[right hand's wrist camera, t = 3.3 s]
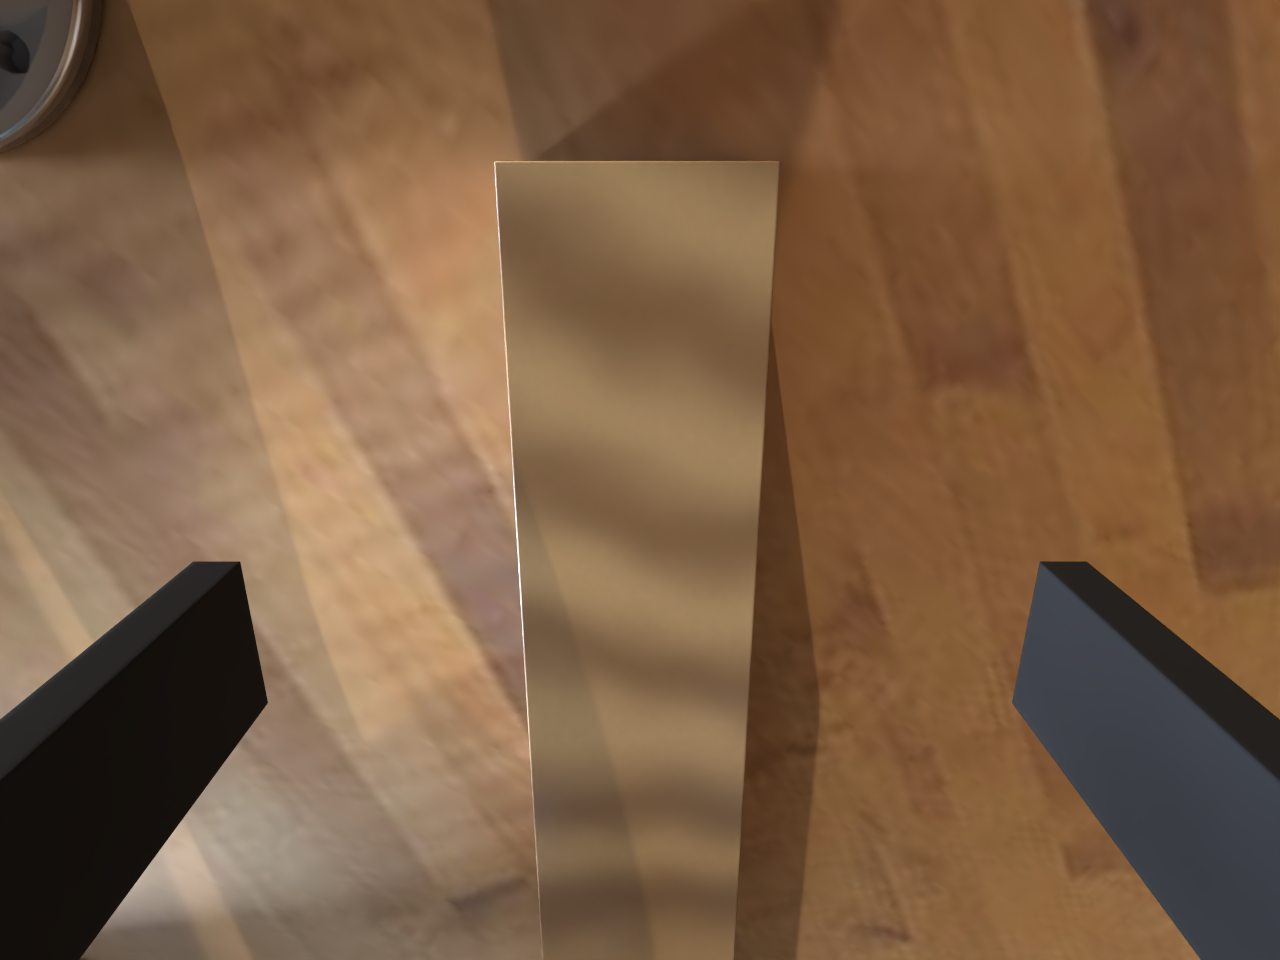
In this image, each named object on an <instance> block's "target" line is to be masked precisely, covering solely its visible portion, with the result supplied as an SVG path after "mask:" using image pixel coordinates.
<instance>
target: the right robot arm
mask: <svg viewBox="0 0 1280 960" xmlns="http://www.w3.org/2000/svg"><path fill="white" fill-rule="evenodd" d="M101 12H102V0H0V153H1V152H4V151H7V150H10V149H12V148H14V147H16V146H19V145H21V144H23V143H25V142H27V141H28V140H30V139H32V138H33V137H35V136H37V135H38V134H39V133H41V132H42V131H43V130H44V129H46V128H47V127H48V126H49V125H51V124H52V123H53V122H54V121H55V120H56V119H57V118H58V117H59V116H60V115H61V114H62V113H63V112H64V110H65V109H66V108H67V106H68V105H69V104H70V102H71V101H72V100H73V98H74V97H75V95H76V93H77V92H78V90H79V88H80V86H81V85H82V83H83V81H84V79H85V76H86V74H87V72H88V69H89V67H90V65H91V62H92V58H93V55H94V52H95V49H96V45H97V40H98V35H99V30H100V23H101ZM267 703H268V701H267V696H266V691H265V686H264V681H263V676H262V671H261V665H260V660H259V655H258V650H257V645H256V640H255V635H254V630H253V625H252V620H251V615H250V610H249V605H248V599H247V594H246V589H245V584H244V579H243V574H242V569H241V564H240V562H192V563H191V564H190V565H189V566H188V567H186V568H185V569H184V570H183V571H181V572H180V573H179V574H178V575H177V576H175V577H174V578H173V579H172V580H170V581H169V582H168V583H167V584H166V585H164V586H163V587H162V588H161V589H159V590H158V591H157V592H156V593H155V594H153V595H152V596H151V597H150V598H148V599H147V600H146V601H145V602H144V603H142V604H141V605H140V606H139V607H137V608H136V609H135V610H134V611H133V612H131V613H130V614H129V615H128V616H126V617H125V618H124V619H123V620H121V621H120V622H119V623H118V624H117V625H115V626H114V627H113V628H112V629H110V630H109V631H108V632H107V633H106V634H104V635H103V636H102V637H101V638H99V639H98V640H97V641H96V642H95V643H93V644H92V645H91V646H90V647H88V648H87V649H86V650H85V651H84V652H82V653H81V654H80V655H79V656H77V657H76V658H75V659H74V660H73V661H71V662H70V663H69V664H68V665H66V666H65V667H64V668H63V669H62V670H60V671H59V672H58V673H57V674H55V675H54V676H53V677H52V678H51V679H49V680H48V681H47V682H46V683H44V684H43V685H42V686H41V687H40V688H38V689H37V690H36V691H35V692H33V693H32V694H31V695H30V696H29V697H27V698H26V699H25V700H24V701H22V702H21V703H20V704H19V705H18V706H16V707H15V708H14V709H13V710H11V711H10V712H9V713H8V714H7V715H5V716H4V717H3V718H2V719H0V960H79V959H80V958H81V956H82V955H83V954H84V952H85V951H86V950H87V948H88V947H89V945H90V944H91V943H92V941H93V940H94V939H95V937H96V936H97V935H98V933H99V932H100V931H101V929H102V928H103V926H104V925H105V924H106V922H107V921H108V920H109V918H110V917H111V916H112V914H113V913H114V911H115V910H116V909H117V907H118V906H119V905H120V903H121V902H122V901H123V899H124V898H125V897H126V895H127V894H128V892H129V891H130V890H131V888H132V887H133V886H134V884H135V883H136V882H137V880H138V879H139V877H140V876H141V875H142V873H143V872H144V871H145V869H146V868H147V867H148V865H149V864H150V862H151V861H152V860H153V858H154V857H155V856H156V854H157V853H158V852H159V850H160V849H161V848H162V846H163V845H164V843H165V842H166V841H167V839H168V838H169V837H170V835H171V834H172V833H173V831H174V830H175V828H176V827H177V826H178V824H179V823H180V822H181V820H182V819H183V818H184V816H185V815H186V814H187V812H188V811H189V809H190V808H191V807H192V805H193V804H194V803H195V801H196V800H197V799H198V797H199V796H200V794H201V793H202V792H203V790H204V789H205V788H206V786H207V785H208V784H209V782H210V781H211V780H212V778H213V777H214V775H215V774H216V773H217V771H218V770H219V769H220V767H221V766H222V765H223V763H224V762H225V760H226V759H227V758H228V756H229V755H230V754H231V752H232V751H233V750H234V748H235V747H236V745H237V744H238V743H239V741H240V740H241V739H242V737H243V736H244V735H245V733H246V732H247V731H248V729H249V728H250V726H251V725H252V724H253V722H254V721H255V720H256V718H257V717H258V716H259V714H260V713H261V711H262V710H263V709H264V707H265V706H266V705H267ZM1012 703H1013V705H1014V706H1015V707H1016V709H1017V710H1018V711H1019V713H1020V714H1021V716H1022V717H1023V718H1024V720H1025V721H1026V722H1027V724H1028V725H1029V726H1030V728H1031V729H1032V731H1033V732H1034V733H1035V735H1036V736H1037V737H1038V739H1039V740H1040V741H1041V743H1042V744H1043V746H1044V747H1045V748H1046V750H1047V751H1048V752H1049V754H1050V755H1051V756H1052V758H1053V759H1054V760H1055V762H1056V763H1057V765H1058V766H1059V767H1060V769H1061V770H1062V771H1063V773H1064V774H1065V775H1066V777H1067V778H1068V780H1069V781H1070V782H1071V784H1072V785H1073V786H1074V788H1075V789H1076V790H1077V792H1078V793H1079V794H1080V796H1081V797H1082V799H1083V800H1084V801H1085V803H1086V804H1087V805H1088V807H1089V808H1090V809H1091V811H1092V812H1093V814H1094V815H1095V816H1096V818H1097V819H1098V820H1099V822H1100V823H1101V824H1102V826H1103V827H1104V828H1105V830H1106V831H1107V833H1108V834H1109V835H1110V837H1111V838H1112V839H1113V841H1114V842H1115V843H1116V845H1117V846H1118V848H1119V849H1120V850H1121V852H1122V853H1123V854H1124V856H1125V857H1126V858H1127V860H1128V861H1129V863H1130V864H1131V865H1132V867H1133V868H1134V869H1135V871H1136V872H1137V873H1138V875H1139V876H1140V877H1141V879H1142V880H1143V882H1144V883H1145V884H1146V886H1147V887H1148V888H1149V890H1150V891H1151V892H1152V894H1153V895H1154V897H1155V898H1156V899H1157V901H1158V902H1159V903H1160V905H1161V906H1162V907H1163V909H1164V910H1165V911H1166V913H1167V914H1168V916H1169V917H1170V918H1171V920H1172V921H1173V922H1174V924H1175V925H1176V926H1177V928H1178V929H1179V931H1180V932H1181V933H1182V935H1183V936H1184V937H1185V939H1186V940H1187V941H1188V943H1189V944H1190V945H1191V947H1192V948H1193V950H1194V951H1195V952H1196V954H1197V955H1198V956H1199V958H1200V959H1201V960H1280V719H1278V718H1277V717H1276V716H1275V715H1273V714H1272V713H1271V712H1270V711H1269V710H1267V709H1266V708H1265V707H1264V706H1262V705H1261V704H1260V703H1259V702H1258V701H1256V700H1255V699H1254V698H1253V697H1251V696H1250V695H1249V694H1248V693H1247V692H1245V691H1244V690H1243V689H1242V688H1240V687H1239V686H1238V685H1237V684H1236V683H1234V682H1233V681H1232V680H1231V679H1229V678H1228V677H1227V676H1226V675H1225V674H1223V673H1222V672H1221V671H1220V670H1218V669H1217V668H1216V667H1215V666H1214V665H1212V664H1211V663H1210V662H1209V661H1207V660H1206V659H1205V658H1204V657H1203V656H1201V655H1200V654H1199V653H1198V652H1196V651H1195V650H1194V649H1193V648H1192V647H1190V646H1189V645H1188V644H1187V643H1185V642H1184V641H1183V640H1182V639H1181V638H1179V637H1178V636H1177V635H1176V634H1174V633H1173V632H1172V631H1171V630H1170V629H1168V628H1167V627H1166V626H1165V625H1163V624H1162V623H1161V622H1160V621H1159V620H1157V619H1156V618H1155V617H1154V616H1152V615H1151V614H1150V613H1149V612H1147V611H1146V610H1145V609H1144V608H1143V607H1141V606H1140V605H1139V604H1138V603H1136V602H1135V601H1134V600H1133V599H1132V598H1130V597H1129V596H1128V595H1127V594H1125V593H1124V592H1123V591H1122V590H1121V589H1119V588H1118V587H1117V586H1116V585H1114V584H1113V583H1112V582H1111V581H1110V580H1108V579H1107V578H1106V577H1105V576H1103V575H1102V574H1101V573H1100V572H1099V571H1097V570H1096V569H1095V568H1094V567H1092V566H1091V565H1090V564H1089V563H1088V562H1040V564H1039V569H1038V574H1037V579H1036V584H1035V589H1034V594H1033V599H1032V605H1031V610H1030V615H1029V620H1028V625H1027V630H1026V635H1025V640H1024V645H1023V650H1022V655H1021V660H1020V665H1019V671H1018V676H1017V681H1016V686H1015V691H1014V696H1013V701H1012Z"/></svg>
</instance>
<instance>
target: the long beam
mask: <svg viewBox="0 0 1280 960" xmlns="http://www.w3.org/2000/svg"><path fill="white" fill-rule="evenodd" d="M494 171H495V187H496V204H497V220H498V237H499V253H500V270H501V286H502V303H503V319H504V336H505V352H506V369H507V385H508V402H509V418H510V435H511V451H512V468H513V484H514V501H515V517H516V534H517V550H518V567H519V583H520V599H521V616H522V632H523V649H524V665H525V682H526V698H527V715H528V731H529V748H530V764H531V781H532V797H533V814H534V830H535V847H536V863H537V880H538V896H539V913H540V929H541V946H542V960H734V948H735V931H736V913H737V896H738V879H739V862H740V845H741V828H742V811H743V793H744V776H745V759H746V742H747V725H748V708H749V691H750V673H751V656H752V639H753V622H754V605H755V588H756V571H757V553H758V536H759V519H760V502H761V485H762V468H763V451H764V433H765V416H766V399H767V382H768V365H769V348H770V331H771V313H772V296H773V279H774V262H775V245H776V228H777V211H778V193H779V176H780V162H779V161H495V162H494Z"/></svg>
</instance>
